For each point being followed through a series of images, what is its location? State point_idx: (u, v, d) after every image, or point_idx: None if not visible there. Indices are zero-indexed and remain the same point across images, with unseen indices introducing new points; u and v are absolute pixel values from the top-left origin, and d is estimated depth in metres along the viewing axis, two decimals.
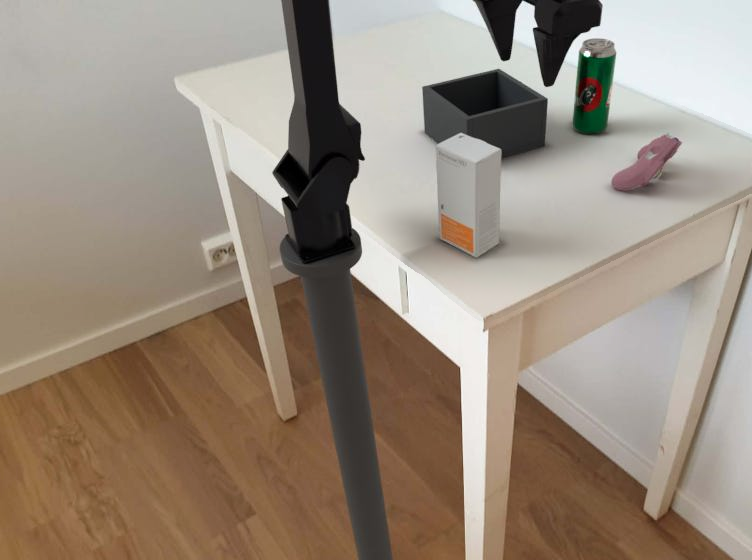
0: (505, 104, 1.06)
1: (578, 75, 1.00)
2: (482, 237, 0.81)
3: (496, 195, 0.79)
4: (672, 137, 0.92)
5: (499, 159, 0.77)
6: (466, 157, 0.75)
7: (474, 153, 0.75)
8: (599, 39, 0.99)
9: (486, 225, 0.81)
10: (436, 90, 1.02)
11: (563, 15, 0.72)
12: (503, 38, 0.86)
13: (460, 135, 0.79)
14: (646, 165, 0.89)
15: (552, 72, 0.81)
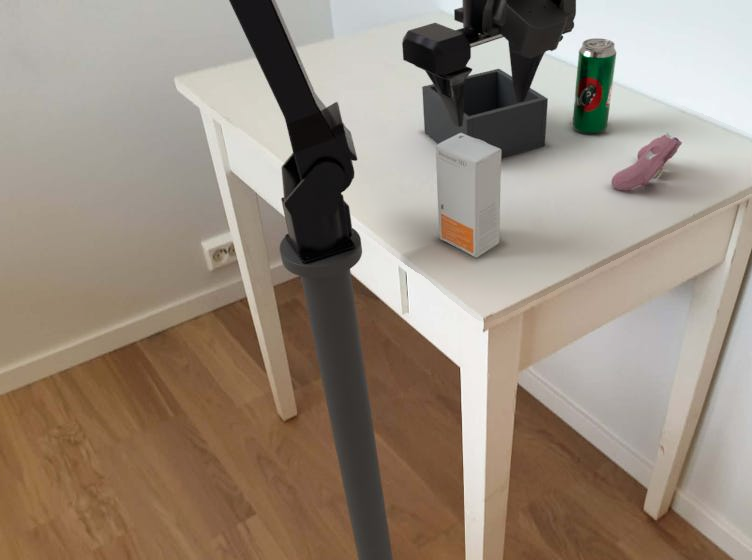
0: (505, 104, 1.06)
1: (578, 75, 1.00)
2: (482, 237, 0.81)
3: (496, 195, 0.79)
4: (672, 137, 0.92)
5: (499, 159, 0.77)
6: (466, 157, 0.75)
7: (474, 153, 0.75)
8: (599, 39, 0.99)
9: (486, 225, 0.81)
10: (436, 90, 1.02)
11: (403, 41, 0.70)
12: (518, 76, 0.80)
13: (460, 135, 0.79)
14: (646, 165, 0.89)
15: (451, 110, 0.76)
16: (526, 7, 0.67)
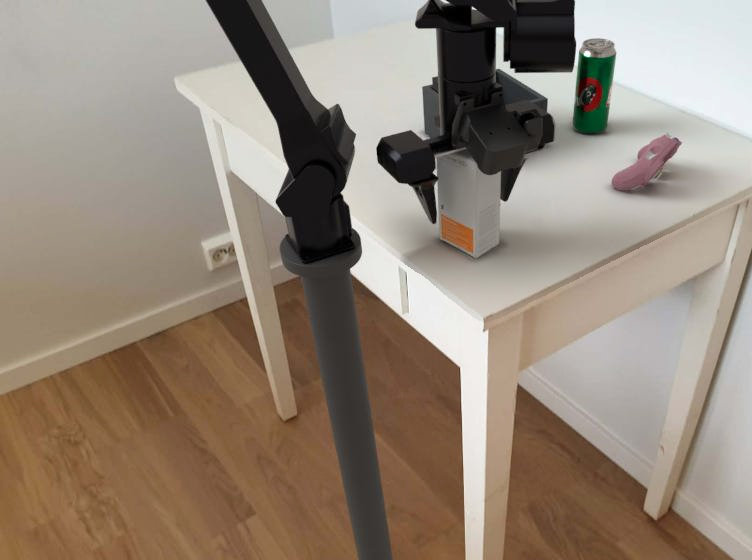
0: (505, 104, 1.06)
1: (578, 75, 1.00)
2: (482, 238, 0.81)
3: (496, 195, 0.79)
4: (672, 137, 0.92)
5: None
6: (466, 157, 0.75)
7: None
8: (599, 39, 0.99)
9: (486, 225, 0.81)
10: (436, 90, 1.02)
11: None
12: (501, 177, 0.82)
13: None
14: (646, 165, 0.89)
15: (425, 209, 0.79)
16: (489, 128, 0.70)
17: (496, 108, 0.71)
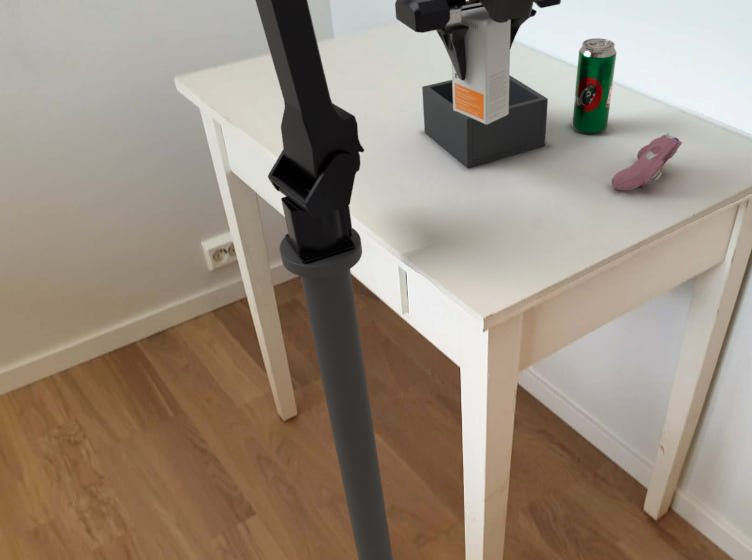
0: None
1: (578, 75, 1.00)
2: (492, 104, 0.87)
3: (506, 62, 0.85)
4: (672, 137, 0.92)
5: (508, 24, 0.83)
6: (477, 20, 0.81)
7: (485, 17, 0.82)
8: (599, 39, 0.99)
9: (496, 91, 0.87)
10: (436, 90, 1.02)
11: None
12: None
13: None
14: (646, 165, 0.89)
15: (455, 65, 0.85)
16: None
17: None
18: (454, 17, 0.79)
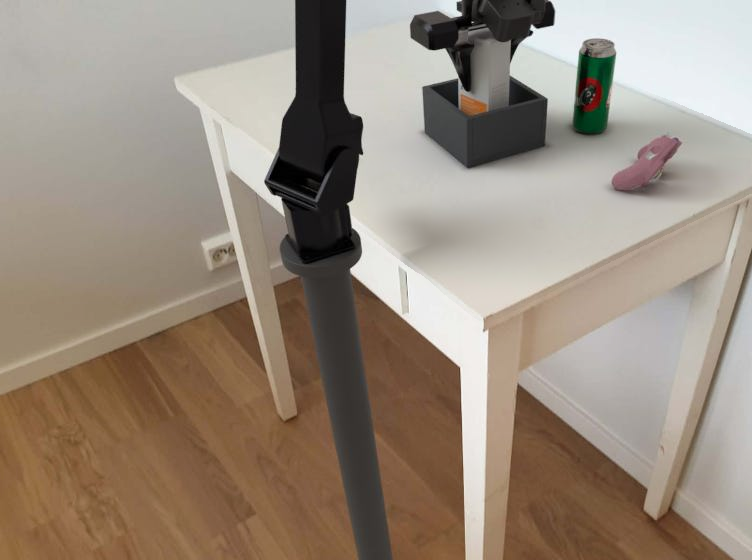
0: None
1: (578, 75, 1.00)
2: None
3: (506, 76, 0.97)
4: (672, 137, 0.92)
5: (509, 43, 0.94)
6: (482, 39, 0.92)
7: (489, 36, 0.93)
8: (599, 39, 0.99)
9: (498, 101, 0.98)
10: (436, 90, 1.02)
11: (410, 23, 0.91)
12: None
13: None
14: (646, 165, 0.89)
15: (461, 78, 0.97)
16: (502, 2, 0.87)
17: None
18: (462, 37, 0.91)
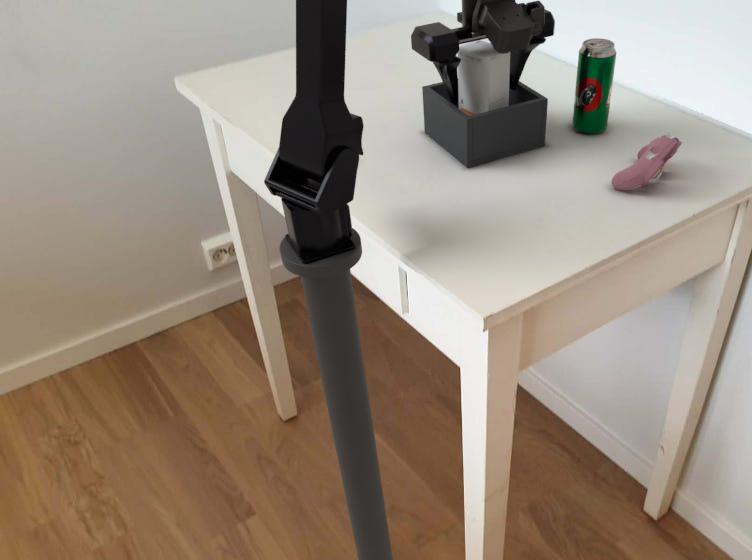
0: None
1: (578, 75, 1.00)
2: None
3: (505, 90, 0.98)
4: (672, 137, 0.92)
5: (508, 58, 0.96)
6: (482, 54, 0.94)
7: (488, 52, 0.94)
8: (599, 39, 0.99)
9: None
10: (436, 90, 1.02)
11: None
12: (511, 69, 1.00)
13: (477, 40, 0.98)
14: (646, 165, 0.89)
15: (449, 91, 0.97)
16: (502, 14, 0.88)
17: (508, 1, 0.89)
18: None
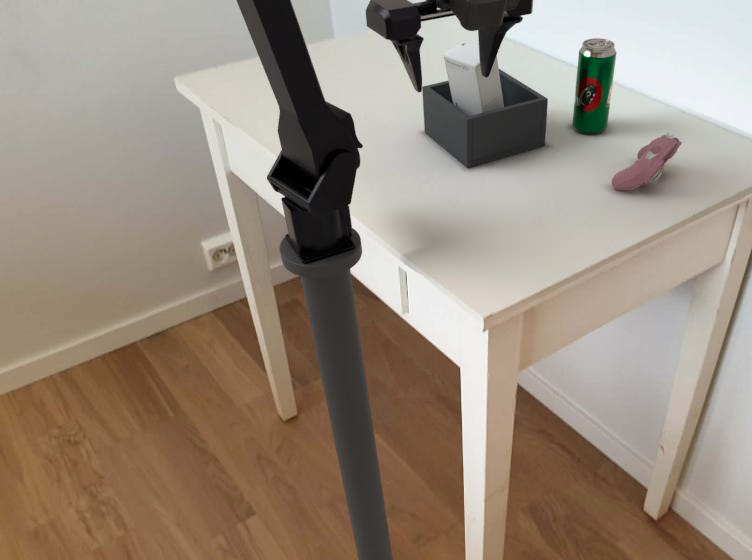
0: (505, 104, 1.06)
1: (578, 75, 1.00)
2: None
3: (498, 89, 0.97)
4: (672, 137, 0.92)
5: (495, 60, 0.94)
6: (467, 62, 0.93)
7: (474, 58, 0.93)
8: (599, 39, 0.99)
9: None
10: (436, 90, 1.02)
11: (366, 9, 0.79)
12: (483, 53, 0.87)
13: (463, 42, 0.96)
14: (646, 165, 0.89)
15: (411, 76, 0.84)
16: None
17: None
18: None
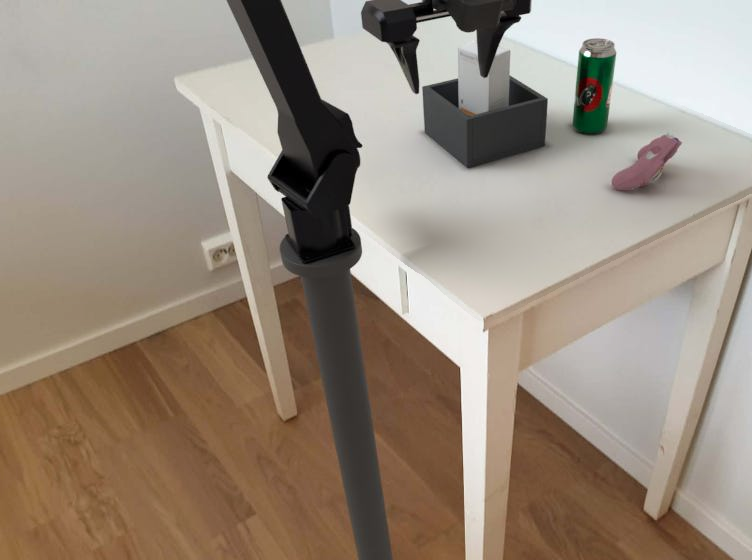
0: None
1: (578, 75, 1.00)
2: None
3: (505, 90, 0.98)
4: (672, 137, 0.92)
5: (508, 58, 0.96)
6: None
7: None
8: (599, 39, 0.99)
9: None
10: (436, 90, 1.02)
11: None
12: (481, 53, 0.86)
13: None
14: (646, 165, 0.89)
15: (408, 78, 0.83)
16: None
17: None
18: None
